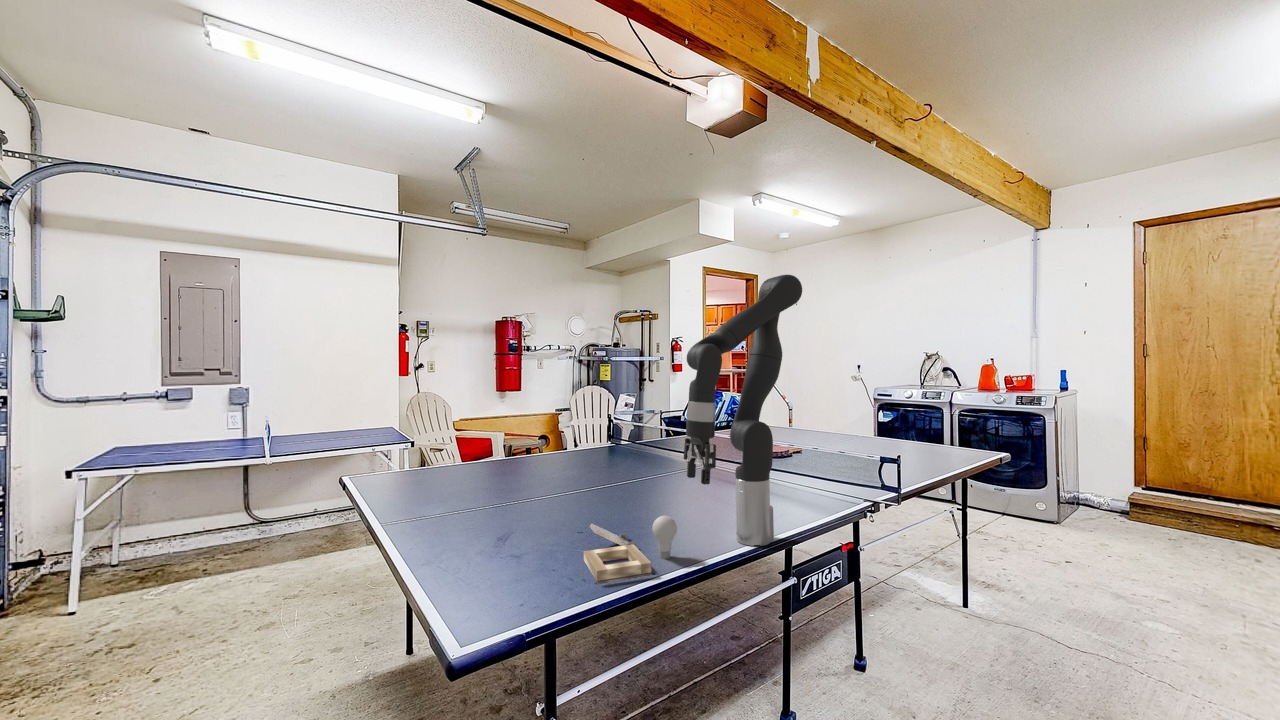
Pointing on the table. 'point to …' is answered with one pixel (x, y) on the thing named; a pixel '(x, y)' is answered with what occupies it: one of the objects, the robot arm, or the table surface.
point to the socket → (604, 572)
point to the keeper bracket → (625, 536)
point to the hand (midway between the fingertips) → (697, 480)
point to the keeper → (609, 535)
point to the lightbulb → (664, 534)
